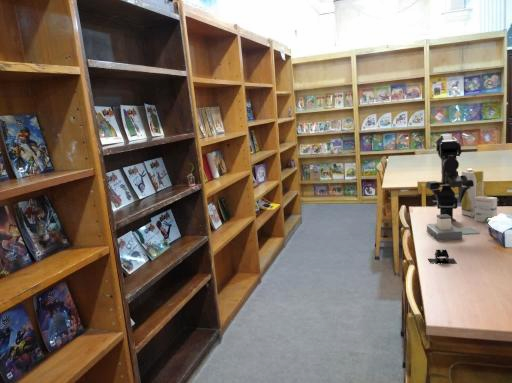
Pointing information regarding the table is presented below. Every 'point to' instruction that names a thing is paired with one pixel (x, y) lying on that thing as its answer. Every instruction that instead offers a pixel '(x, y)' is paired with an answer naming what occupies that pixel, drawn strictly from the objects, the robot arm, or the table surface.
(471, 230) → the mat
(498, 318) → the table surface
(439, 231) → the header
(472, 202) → the juice carton
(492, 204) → the ink box
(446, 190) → the robot arm
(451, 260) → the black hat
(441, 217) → the plug
